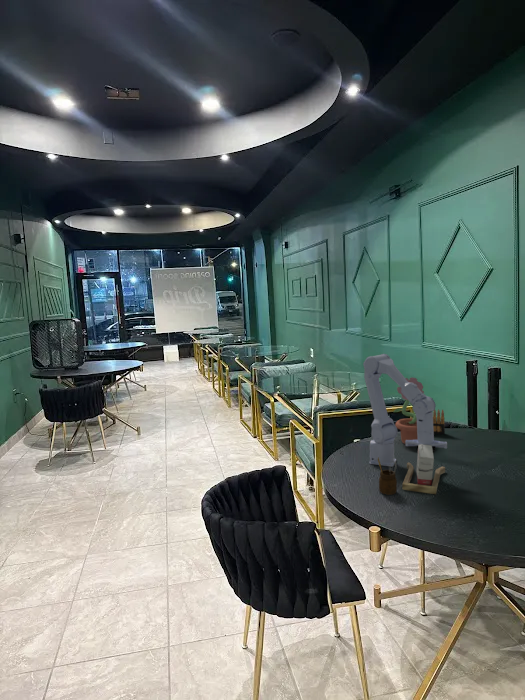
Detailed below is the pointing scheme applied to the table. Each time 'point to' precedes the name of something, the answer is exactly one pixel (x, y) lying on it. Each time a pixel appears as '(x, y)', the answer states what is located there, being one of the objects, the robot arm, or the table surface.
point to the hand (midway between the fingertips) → (426, 465)
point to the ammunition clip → (438, 423)
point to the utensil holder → (387, 481)
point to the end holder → (421, 488)
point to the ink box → (425, 464)
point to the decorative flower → (408, 424)
